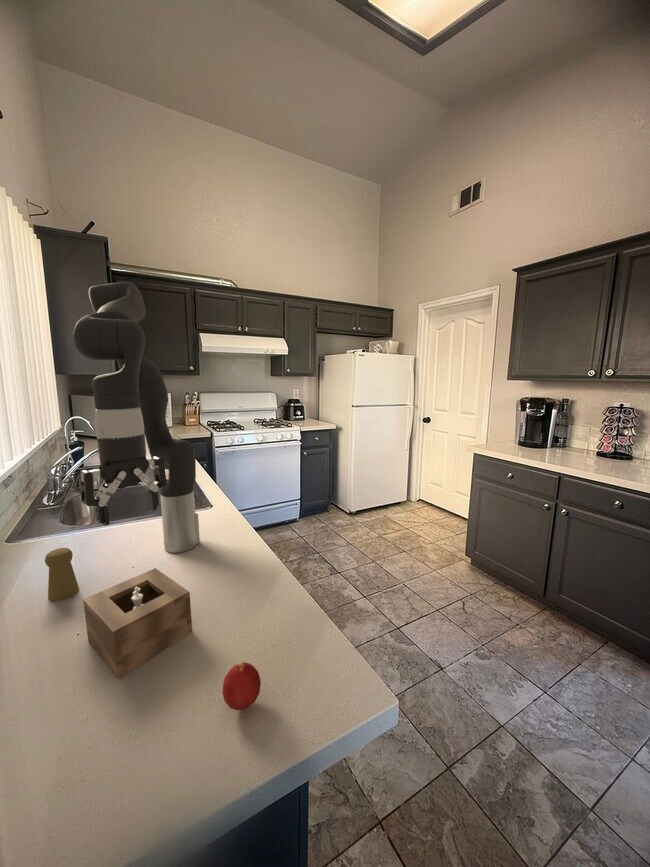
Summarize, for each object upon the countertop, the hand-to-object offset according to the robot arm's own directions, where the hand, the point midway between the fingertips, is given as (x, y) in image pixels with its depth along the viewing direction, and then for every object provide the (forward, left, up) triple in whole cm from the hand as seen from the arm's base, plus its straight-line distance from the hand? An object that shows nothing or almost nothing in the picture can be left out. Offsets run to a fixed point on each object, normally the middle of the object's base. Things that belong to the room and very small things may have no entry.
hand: (129, 516), depth 66 cm
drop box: (0, +1, -25) cm, 25 cm away
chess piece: (0, +1, -25) cm, 25 cm away
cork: (+5, -28, -25) cm, 38 cm away
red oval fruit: (-3, +29, -25) cm, 38 cm away
